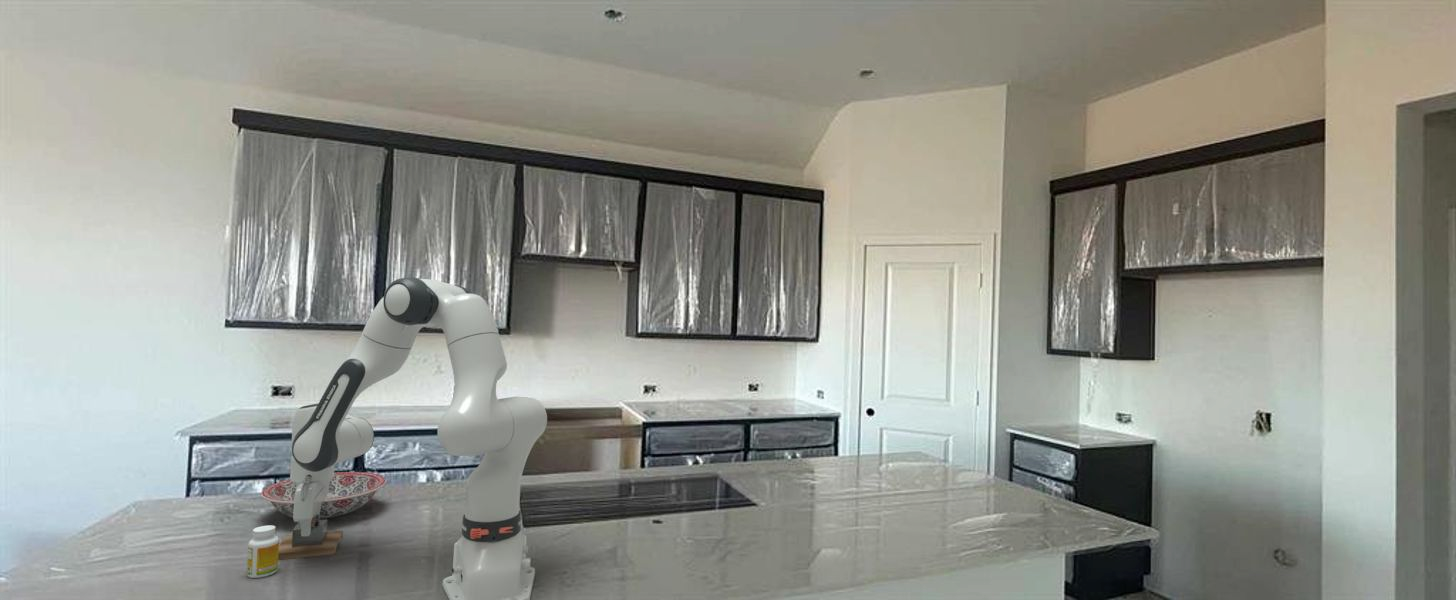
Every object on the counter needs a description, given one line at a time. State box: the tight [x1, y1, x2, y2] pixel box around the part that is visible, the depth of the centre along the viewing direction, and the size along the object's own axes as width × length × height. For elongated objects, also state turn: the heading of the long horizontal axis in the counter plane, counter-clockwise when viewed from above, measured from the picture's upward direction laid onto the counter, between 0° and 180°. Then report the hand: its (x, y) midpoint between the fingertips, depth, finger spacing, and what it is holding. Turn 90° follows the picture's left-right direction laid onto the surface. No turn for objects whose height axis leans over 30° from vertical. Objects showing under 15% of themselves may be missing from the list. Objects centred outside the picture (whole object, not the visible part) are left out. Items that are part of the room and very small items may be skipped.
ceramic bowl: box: [260, 471, 387, 520], centre depth 176 cm, size 29×29×8 cm
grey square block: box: [291, 519, 328, 547], centre depth 152 cm, size 6×6×4 cm
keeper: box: [278, 519, 344, 561], centre depth 152 cm, size 12×12×6 cm
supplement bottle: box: [246, 524, 280, 579], centre depth 138 cm, size 5×5×10 cm
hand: (310, 528), depth 152 cm, fingers open, 8 cm apart
